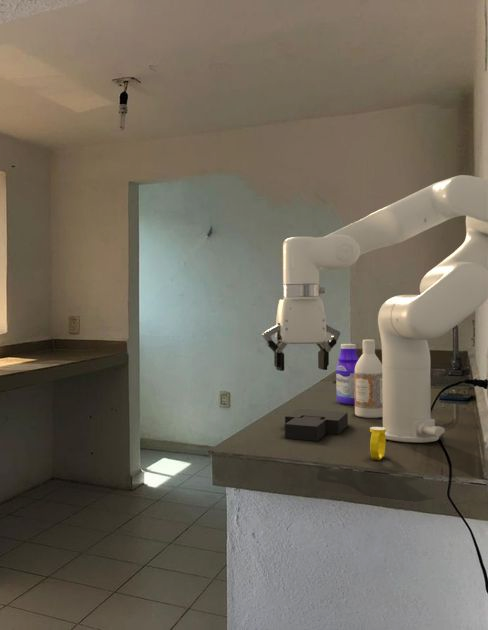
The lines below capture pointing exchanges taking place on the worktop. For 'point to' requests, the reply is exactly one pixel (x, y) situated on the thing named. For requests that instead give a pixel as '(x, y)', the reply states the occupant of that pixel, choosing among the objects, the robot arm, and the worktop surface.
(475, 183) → the robot arm
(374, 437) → the watch
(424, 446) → the worktop surface
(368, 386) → the bath foam
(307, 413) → the notch pad
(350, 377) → the bottle
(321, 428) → the tongue pad
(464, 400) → the worktop surface
